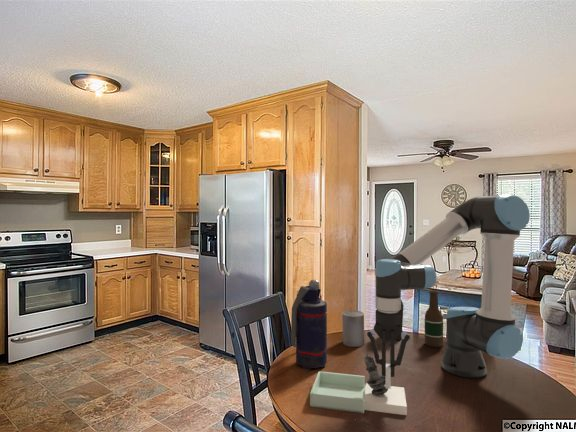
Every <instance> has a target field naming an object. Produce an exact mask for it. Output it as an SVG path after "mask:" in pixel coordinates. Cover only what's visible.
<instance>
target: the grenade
mask: <svg viewBox="0 0 576 432" xmlns="http://www.w3.org/2000/svg"><path fill="white" fill-rule="evenodd" d="M299 287H300V288H299V289H298V291H297V292H296V296H295V299H294V302H293V304H292V307H291V319H290V320H291V321H290V326H291V327H290V345H291V346H292V347H293V348H295V349H296V350H295V363H296V364H297V365H299V366H301V367H302V369H303V370H306V371H310V370H311V369H318V368H325V366H326V364H327V363H328V361H327V359H328V357H327V354H328V351H327V349H328V344H327V343H328V341H327V340H328V336H327V335H328V330H327V329H328V324H327V323H328V320H327V319H328V318H327V316H328V313H327V312H328V311H327V310H328V308H327V307H328V306H327V305H328V303H327V302H326V301H324V300H322V299H320V300H319V298H320V295H321V291H322V290H321V288H320V289H319V288H316V287H311V286H309V285H306V286H304V285H303V286H302V285H301V286H299Z"/></svg>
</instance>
